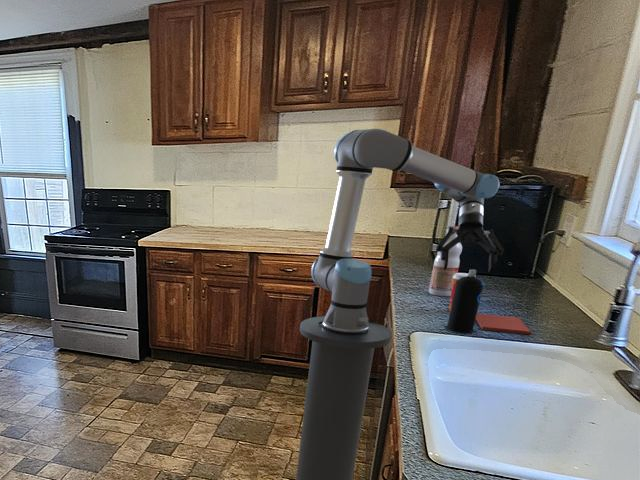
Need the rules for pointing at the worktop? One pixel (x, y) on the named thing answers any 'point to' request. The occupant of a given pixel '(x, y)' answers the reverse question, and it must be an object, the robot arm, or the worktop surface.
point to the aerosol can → (465, 303)
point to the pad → (502, 324)
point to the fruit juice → (444, 278)
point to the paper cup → (455, 278)
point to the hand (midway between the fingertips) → (467, 269)
